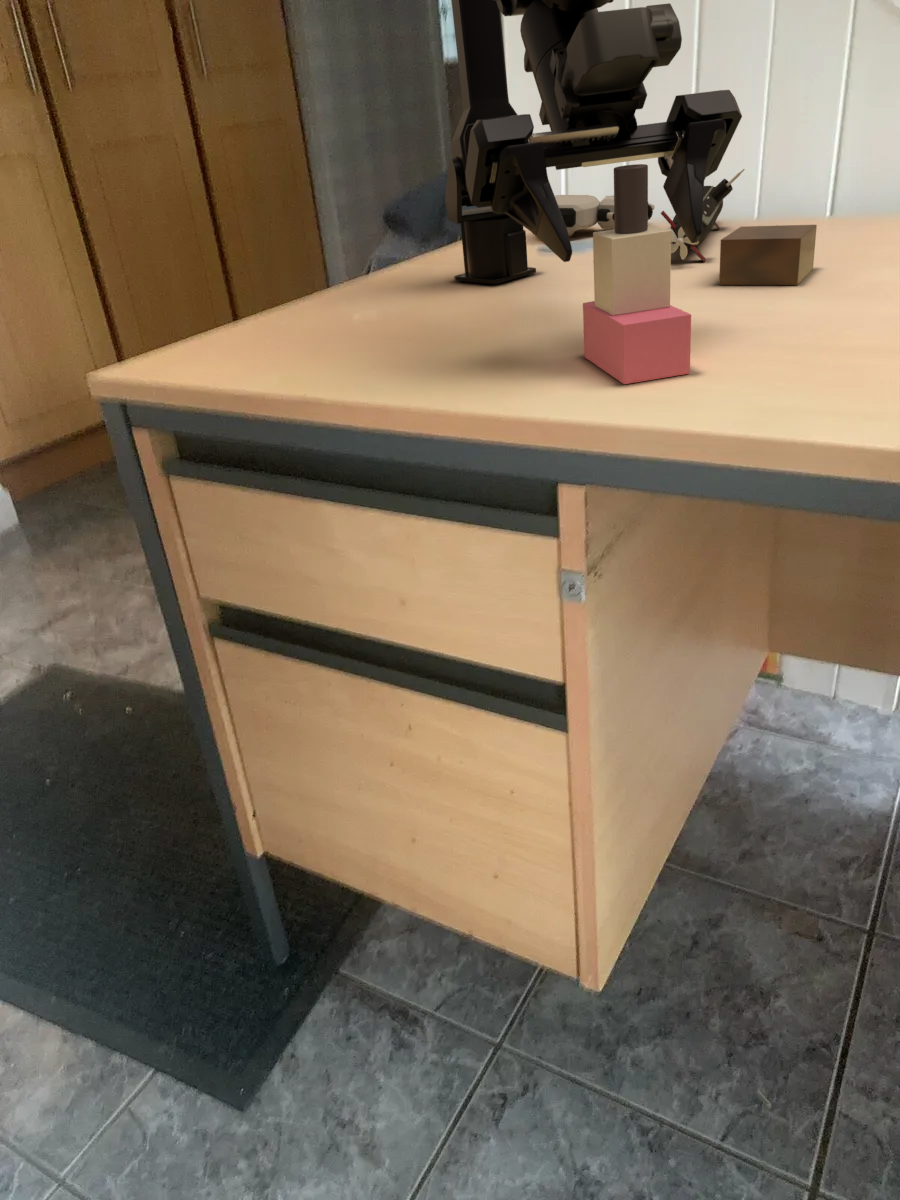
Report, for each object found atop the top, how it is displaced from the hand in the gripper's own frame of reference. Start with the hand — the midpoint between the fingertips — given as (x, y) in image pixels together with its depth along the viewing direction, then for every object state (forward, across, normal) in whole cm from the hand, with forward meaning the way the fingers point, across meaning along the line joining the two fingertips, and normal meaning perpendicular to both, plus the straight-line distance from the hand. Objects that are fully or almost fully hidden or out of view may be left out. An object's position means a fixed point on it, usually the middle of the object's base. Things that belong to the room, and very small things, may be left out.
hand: (633, 248), depth 64 cm
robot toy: (-36, +18, +48) cm, 63 cm away
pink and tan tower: (+6, 0, +6) cm, 8 cm away
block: (-9, +21, +20) cm, 31 cm away
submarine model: (-25, +26, +36) cm, 51 cm away
